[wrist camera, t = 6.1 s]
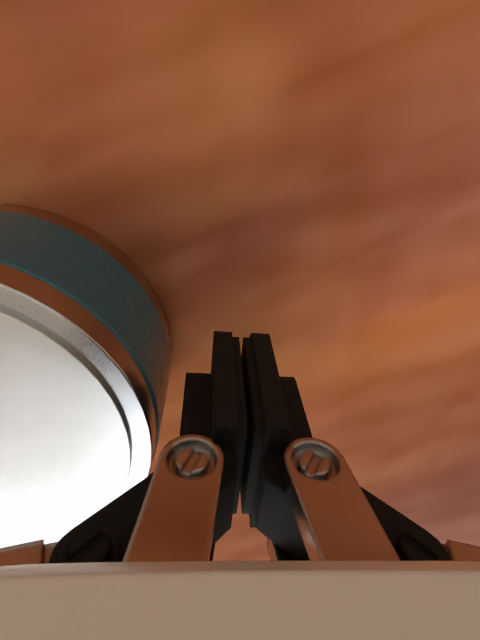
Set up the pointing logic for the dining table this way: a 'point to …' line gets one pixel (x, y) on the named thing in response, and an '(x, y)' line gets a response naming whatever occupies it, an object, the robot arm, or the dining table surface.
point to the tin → (73, 374)
